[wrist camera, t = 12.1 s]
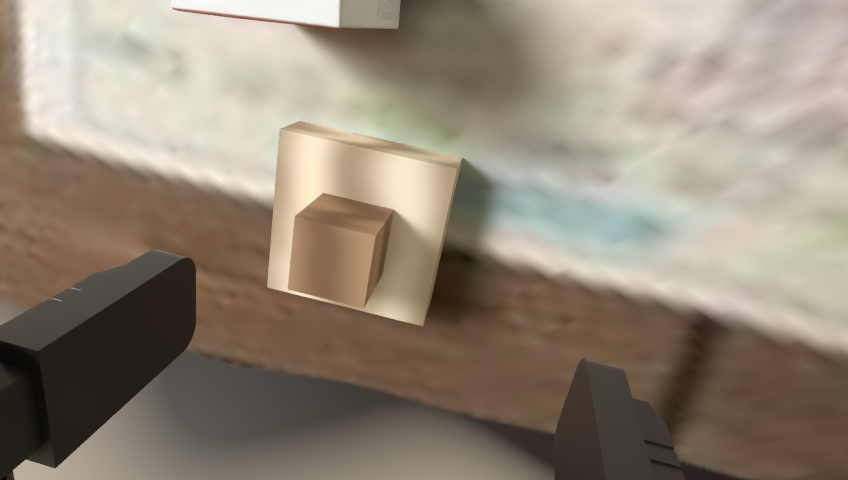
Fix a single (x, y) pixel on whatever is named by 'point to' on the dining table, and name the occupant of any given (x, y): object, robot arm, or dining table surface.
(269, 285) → the beige square plate
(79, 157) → the dining table surface
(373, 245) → the walnut cube
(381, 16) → the small box
